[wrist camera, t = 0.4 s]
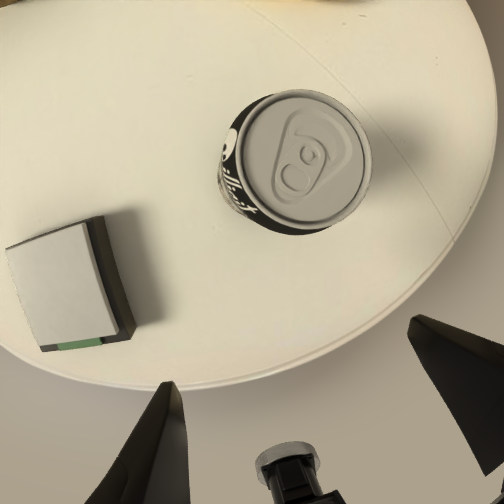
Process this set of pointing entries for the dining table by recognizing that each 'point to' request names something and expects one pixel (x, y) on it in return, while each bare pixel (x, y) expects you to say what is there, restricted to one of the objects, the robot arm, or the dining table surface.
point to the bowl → (6, 2)
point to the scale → (71, 287)
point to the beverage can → (295, 162)
